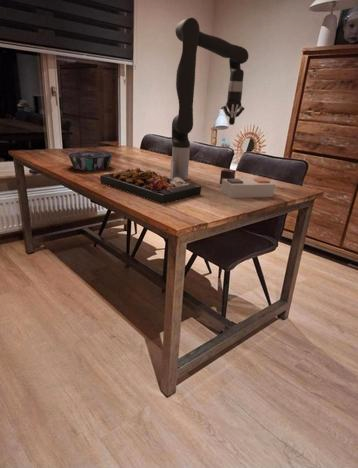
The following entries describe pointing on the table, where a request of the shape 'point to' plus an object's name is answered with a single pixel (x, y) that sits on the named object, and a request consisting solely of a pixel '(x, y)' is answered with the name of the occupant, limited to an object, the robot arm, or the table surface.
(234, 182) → the charcoal key
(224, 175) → the box
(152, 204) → the table surface
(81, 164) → the decorative bowl
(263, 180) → the terracotta key
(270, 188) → the key panel
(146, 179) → the food platter
